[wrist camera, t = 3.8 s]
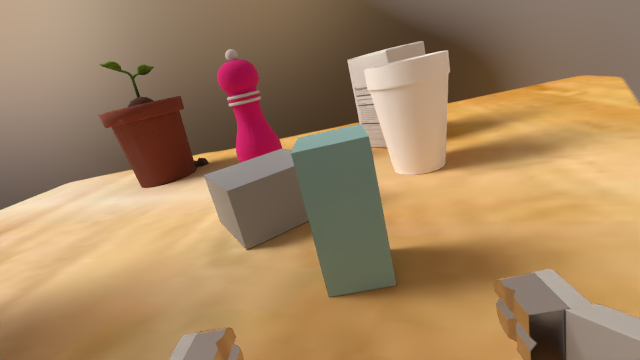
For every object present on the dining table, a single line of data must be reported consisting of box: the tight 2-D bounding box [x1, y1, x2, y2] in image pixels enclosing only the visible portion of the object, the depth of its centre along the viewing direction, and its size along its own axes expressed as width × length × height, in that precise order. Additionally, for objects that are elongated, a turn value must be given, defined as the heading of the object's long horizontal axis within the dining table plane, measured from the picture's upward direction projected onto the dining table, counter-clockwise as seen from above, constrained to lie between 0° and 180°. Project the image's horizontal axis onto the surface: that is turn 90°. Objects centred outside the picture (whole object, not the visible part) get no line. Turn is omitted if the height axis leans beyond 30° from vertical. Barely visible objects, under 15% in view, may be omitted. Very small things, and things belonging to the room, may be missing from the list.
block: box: [291, 124, 397, 297], centre depth 22 cm, size 4×4×10 cm
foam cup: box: [364, 50, 450, 175], centre depth 40 cm, size 10×9×13 cm
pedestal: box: [204, 149, 309, 250], centre depth 36 cm, size 10×10×6 cm
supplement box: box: [348, 41, 425, 148], centre depth 55 cm, size 9×9×15 cm
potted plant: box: [98, 62, 208, 188], centre depth 71 cm, size 18×22×25 cm
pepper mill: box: [217, 49, 282, 162], centre depth 51 cm, size 7×7×20 cm
